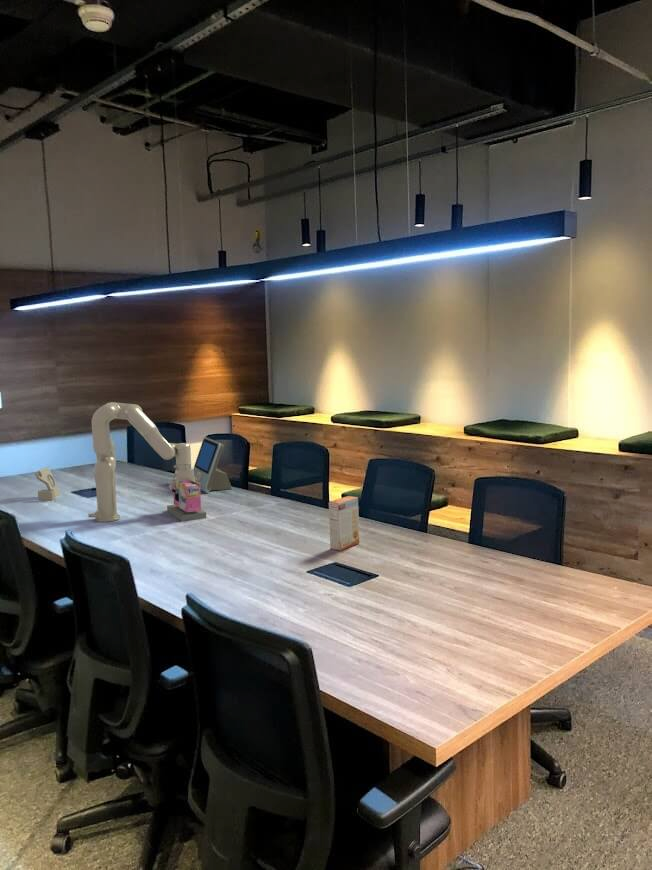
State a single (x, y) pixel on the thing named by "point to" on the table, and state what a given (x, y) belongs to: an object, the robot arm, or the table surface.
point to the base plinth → (185, 513)
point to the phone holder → (51, 485)
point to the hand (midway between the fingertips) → (185, 499)
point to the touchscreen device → (210, 467)
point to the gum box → (188, 497)
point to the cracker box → (344, 523)
